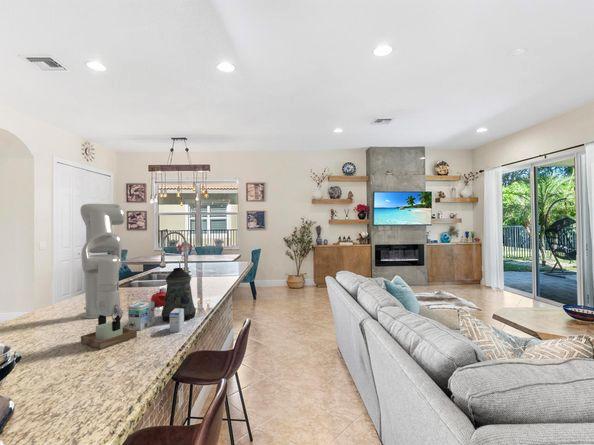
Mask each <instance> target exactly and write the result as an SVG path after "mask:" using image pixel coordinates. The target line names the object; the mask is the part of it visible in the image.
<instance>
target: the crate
mask: <svg viewBox="0 0 594 445" xmlns="http://www.w3.org/2000/svg"><path fill="white" fill-rule="evenodd" d="M122 330H123V334H122V335H118V336H115V337H112V338H109V339H106V340H103V341H99V340H96V331H94V332H90V333H87V334H83V335H80V344H81V345H84V346H86V347H87V346H88V347H90V348H93V349H95V350H99V351H100V350H101V351H102V350H104V349H107V348H110V347H113V346H115V345H119V344H122V343H124V342H127V341H130V340H132V339H136V338H137V337H138V330H134V329H130V328H129V327H126V326H122Z"/></svg>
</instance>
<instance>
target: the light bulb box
mask: <svg viewBox="0 0 594 445" xmlns="http://www.w3.org/2000/svg"><path fill="white" fill-rule="evenodd" d="M127 307H128V308H127V312H128V313H127V316H128V319H127V320H128V328H130V329H134V330H137V331H142V330H145V329H146V328H148V327H150V326H152V325H155V306H154V302H151V300H150V301H149V300H148V301H147V300H141V301H140V302H136V303H134V304H131V305H128V306H127Z"/></svg>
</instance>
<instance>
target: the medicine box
mask: <svg viewBox="0 0 594 445" xmlns="http://www.w3.org/2000/svg"><path fill="white" fill-rule="evenodd" d="M184 327H185V321H184V309H183V308H176V309H174V310H173V311H172V312H171V313H170V322H169V332H170V333H180V331H182V329H183V328H184Z"/></svg>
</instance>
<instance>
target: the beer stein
mask: <svg viewBox="0 0 594 445" xmlns="http://www.w3.org/2000/svg"><path fill="white" fill-rule="evenodd" d="M191 280H192V276H191V275H190V274H189V273H188V272H186V271H185V270H184V268H182V267H174V268H173V270H172V271H170V273H169V274H168V275H167V276H166V278H165V282H166V291H165V292H166V296H165V303H164V305H163V308H162V310H161V316H162V317H161V318H162V320H163V321H164V322H165V323H166V322H167V323H170V313H171V312H172V311H173V310H174V309H176V308H183V309H184V322H186V321H190V319H191V320H192V319H194V318H195V316H196V312H197V310H196V309H197V308H196V307H195V304H194V300H193V295H192V288H191Z"/></svg>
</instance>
